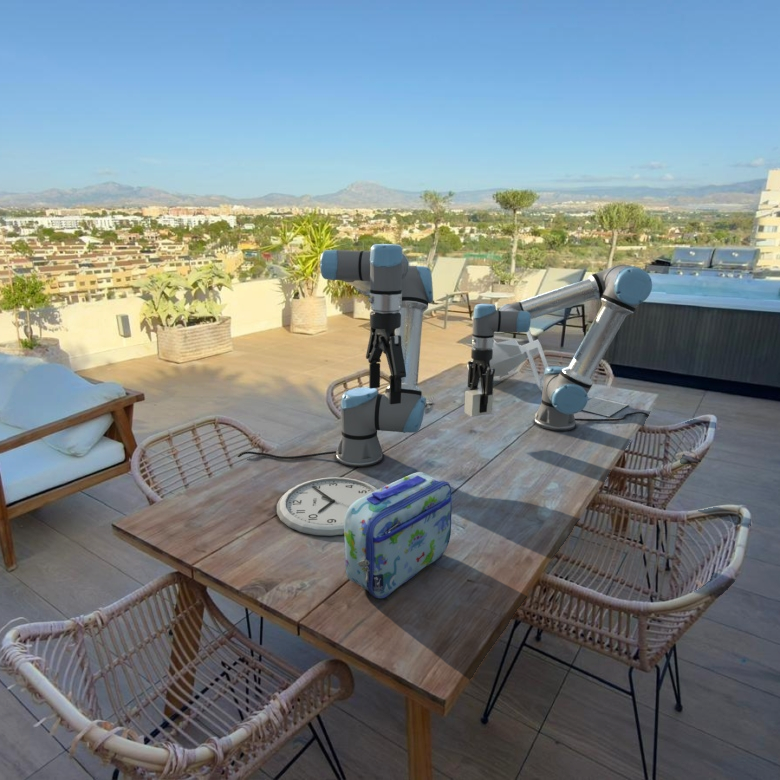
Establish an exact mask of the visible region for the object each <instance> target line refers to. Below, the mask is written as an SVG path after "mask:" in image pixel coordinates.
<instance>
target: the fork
mask: <svg viewBox="0 0 780 780" xmlns="http://www.w3.org/2000/svg"><path fill="white" fill-rule="evenodd" d="M434 399H435V396H429V397H428V398H427V399H426V403H425V409H426V408H427V407H428V405H430V404H433V402H434Z"/></svg>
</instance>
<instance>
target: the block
mask: <svg viewBox="0 0 780 780" xmlns="http://www.w3.org/2000/svg"><path fill="white" fill-rule="evenodd" d="M481 394H482V389H481V388H479V389H477V390H470V389H469V390H465V392H464V407H463V408H464V409H463V410H464V411H463V413H464V414H466V415H468V416H469V417H471V418H473V417H479V416H486V415H491V414H493V402H494V401H493V400H494V393H493V394H492V395H489V396H488V404H487V412H483V413H480V412H479V410H480V395H481Z"/></svg>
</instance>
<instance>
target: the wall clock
mask: <svg viewBox="0 0 780 780" xmlns="http://www.w3.org/2000/svg"><path fill="white" fill-rule="evenodd" d="M378 489H379V488H377V487H376V486H374V485H372V484H371V483H369V482H365V481H362V480H359V479H355V478H349V477H338V476H337V477H335V476H333V477H332V476H331V477H322V478H317V479H312V480H307V481H305V482H302V483H299V484H297V485H295V486H293V487H292V488H290V489H288V490H287V491H286V492H285V493H284V494H283V495H281V496H280V498H279V499H278V502H277V503H276V515H277V517H278V518H279V520H280V521H281V522H282V523H283V524H285V525H286V526H287V527H288V528H290V529H293V530H295V531H297V532H299V533H303V534H308V535H312V536H327V537H328V536H329V537H331V536H332V537H333V536H342V535H343V536H344V520H345V516H346V513H347V511H348V509H349V507H350V506H351V505H352V504H353V503H354V502H355V501H356V500H358V499H360V498H362V497H364V496H366V495H368V494H370V493H372V492H374V491H376V490H378Z"/></svg>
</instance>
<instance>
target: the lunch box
mask: <svg viewBox="0 0 780 780" xmlns="http://www.w3.org/2000/svg"><path fill="white" fill-rule="evenodd" d="M377 489H378V490H376V491H374V492H372V493H370V494H368V495H366V496H364V497H362V498H360V499H358V500H356V501H355V502H354V503H353V504H352V505H351V506H350V507H349V509H348V511H347V513H346V516H345V520H344V534H343V536H344V537H343V539H344V555H345V556H344V565H345V572H346V576H347V579H348V580H349V581H351V582H353V583H354V584H357V585H359V586H360V587H362V588H363V589H365V590H366V591H368V593H369V594H370V596H373V597H374V598H376V599H385V598H387V597H388V596H390V595H391V594H392V593H393V592H394V591H396V590H397V589H398V588H399V587H400V586H402V585H403V584H405V583H407V582H408V581H409V580H410V579H412V578H414V576H416V575H417V574H418V573H419V572H420V571H421V570H423V569H424V568H426V567H427V566H429V565H431V564H433V563H435V562H436V561H437V560H439V559H440V558H441V557H442V556H443V554H445V552H446V550H447V548H448V546H449V543H450V540H451V535H452V534H451V533H452V515H453V514H452V511H453V510H452V509H453V508H452V507H453V505H452V487H451V484H450V483H449V482H448V481H445V480H438V479H436V478H434V477H432V476H431V475H429V474H427V473H424V472H422V471H417V472H414V473H411V474H409V475H407V476H404V477H401V478H399V479H397V480H395V481H393V482H391V483H388V484H386V485H385V486H383V487H380V488H377Z"/></svg>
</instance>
